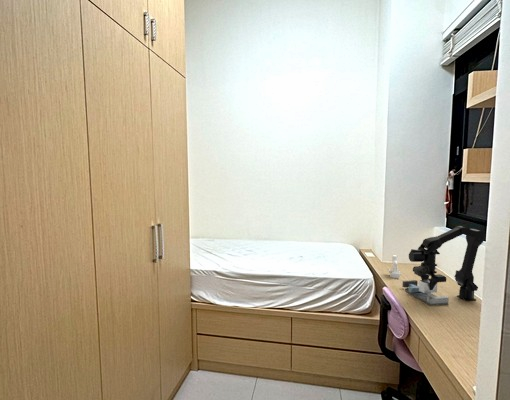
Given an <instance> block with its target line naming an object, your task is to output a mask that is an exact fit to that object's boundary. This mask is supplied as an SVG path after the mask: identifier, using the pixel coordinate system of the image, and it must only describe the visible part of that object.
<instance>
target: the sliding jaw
mask: <svg viewBox="0 0 510 400" xmlns="http://www.w3.org/2000/svg"><path fill="white" fill-rule="evenodd" d="M418 281H419V280H416V279H413V280H403V281H402V288H407V289H408V291H409V292H411V293H413V292H421V291H419V285H418V284H419V283H418Z"/></svg>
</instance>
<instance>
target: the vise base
mask: <svg viewBox="0 0 510 400" xmlns="http://www.w3.org/2000/svg"><path fill="white" fill-rule="evenodd" d="M405 292H406V293H408V294H409V295H411V296H413V297H414V298H416V299H418V300H419V301H421V300H422V301H421V302H423V303H425V304H426V303H427V304H426V305H428V306H430V307H431V306H432V307H433V305H434V306H443V305H444V306H445V305H449V300H450V299H449V297H448V296H446V295H438V296H437V295H435V294H433V293H423V292H413V293H411V292H409V291H408V288H407V289H405Z"/></svg>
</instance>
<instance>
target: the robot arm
mask: <svg viewBox="0 0 510 400" xmlns="http://www.w3.org/2000/svg"><path fill="white" fill-rule="evenodd" d="M462 235H464V236H465V240H466V243H467V245H466V248H465V253H464V256H463V261H462V265H461V268H460V269H459V270H455V275H453V276H454V280H455V282H456V283H457V286H460V287H459V291H458V294H457V295H456V296H457V297H458V298H459V299H461V300H463V301H466V302H472V301H473V302H474V301H477V298H475V291H478V289H479V287H478V285H477V284H476V283H475V282H474V281H475V277H474V273H473V269H474V266H475V261H476V257H477V253H478V249H479V247H480V246H481V245H482V244H483V243H484V241H485V238H486V233H485V232H484V231H482V230H479V229H476V228H468V227H465V226H461V225H457V226H455V227H454V228H451V229H449V230H448V231H446V232H442V233H441V234H439V235H436V236H430V237H427V238H424V239H423V240H422V243H421V244H420V245H419V246H418V247H417V249H410V251H409V253H408V259H409V261H410V262H411V263H421V264H420V265H417V266H416V265H415V266H413V267H412V272H413V273H414V275H416V276H418V277H420V279H421V280H429V281H430V290H433V288H434V287H435V285H436V284H437V285H438V283H446V282H447V276H445V275H443V274H441V273H439V274H438V272H437V271H436V267H438V263H436V259H437V258H436V256H437V255H440V254H441V253H440V252H439V251H438V249H440V248H441V247H442V246H443V244H445V243H448V242H450V241H451V240H455V238H458V237H460V236H462Z"/></svg>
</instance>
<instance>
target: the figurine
mask: <svg viewBox="0 0 510 400" xmlns="http://www.w3.org/2000/svg"><path fill="white" fill-rule="evenodd" d="M391 255H392V256H391V261H392V269H387V271H388V273H389V276H390V278H392V279H400V276H401V275H402V273H401V271H400V270H399V269H398V268H399V267H398V265H399V263H398V260H399V259H398V255H396V254H391Z"/></svg>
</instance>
